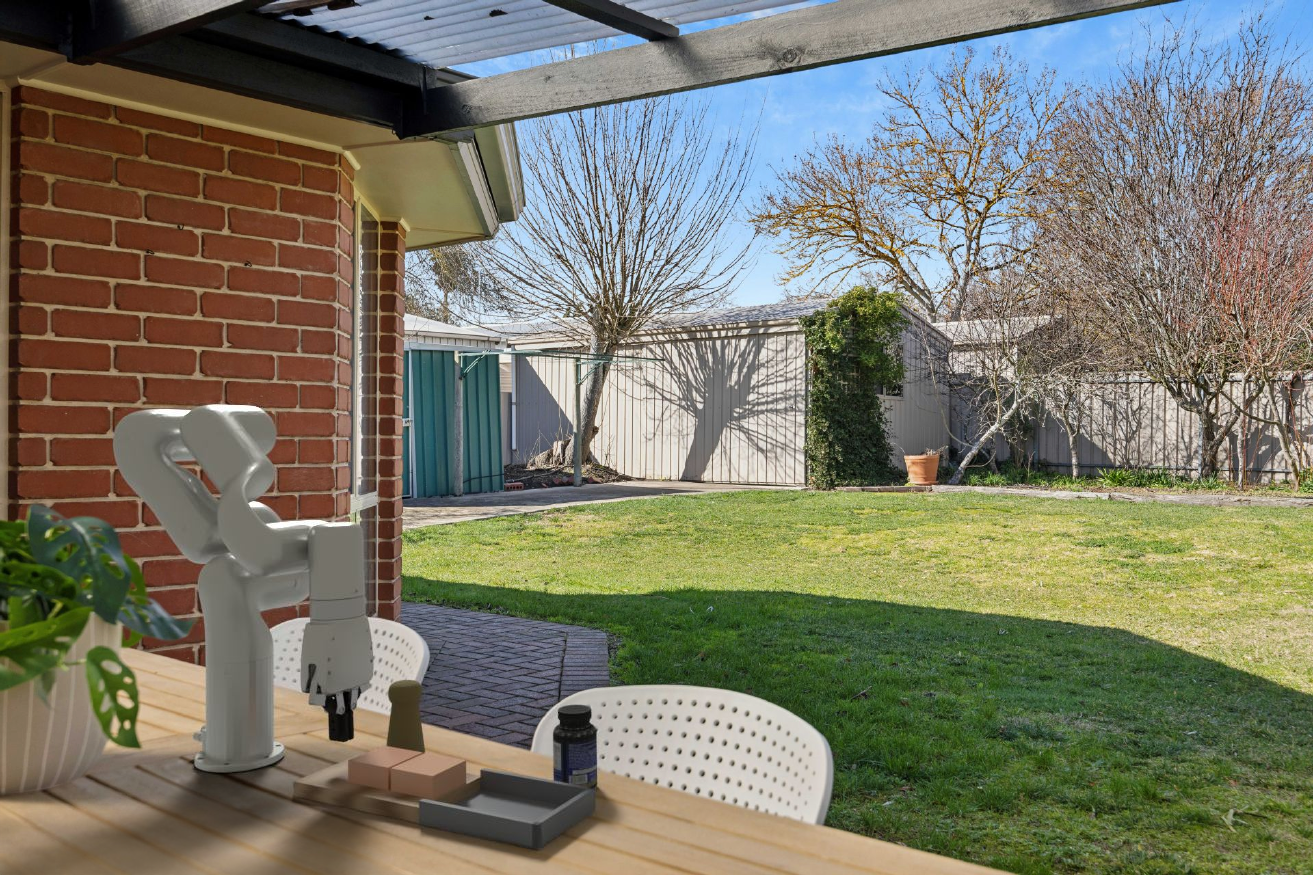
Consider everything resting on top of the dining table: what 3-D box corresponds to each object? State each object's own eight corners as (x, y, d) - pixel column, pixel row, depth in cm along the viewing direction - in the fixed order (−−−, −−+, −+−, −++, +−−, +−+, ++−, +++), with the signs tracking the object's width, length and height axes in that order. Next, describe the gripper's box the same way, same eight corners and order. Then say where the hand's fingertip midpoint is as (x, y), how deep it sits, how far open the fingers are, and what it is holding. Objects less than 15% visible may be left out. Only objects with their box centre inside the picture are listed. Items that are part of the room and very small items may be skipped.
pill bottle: (603, 782, 138) (603, 704, 138) (586, 797, 132) (586, 716, 132) (564, 778, 140) (563, 701, 140) (545, 792, 134) (545, 712, 134)
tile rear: (348, 782, 132) (348, 760, 132) (383, 766, 139) (383, 745, 139) (387, 790, 129) (387, 767, 129) (422, 773, 136) (422, 752, 136)
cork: (414, 759, 148) (414, 686, 148) (378, 756, 149) (377, 684, 149) (431, 746, 154) (431, 677, 154) (396, 744, 155) (396, 675, 155)
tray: (419, 824, 123) (418, 800, 123) (483, 789, 135) (483, 767, 135) (537, 850, 115) (537, 824, 115) (595, 810, 127) (595, 787, 127)
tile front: (390, 790, 129) (390, 768, 129) (425, 774, 135) (425, 752, 135) (432, 799, 126) (432, 775, 126) (466, 782, 132) (466, 759, 132)
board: (293, 795, 133) (293, 781, 133) (361, 767, 145) (361, 753, 145) (420, 823, 123) (420, 807, 123) (482, 790, 135) (482, 775, 135)
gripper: (355, 600, 146) (359, 723, 146) (276, 617, 133) (280, 752, 133) (394, 602, 143) (398, 728, 143) (317, 619, 130) (321, 758, 129)
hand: (341, 739), depth 138 cm, fingers closed
